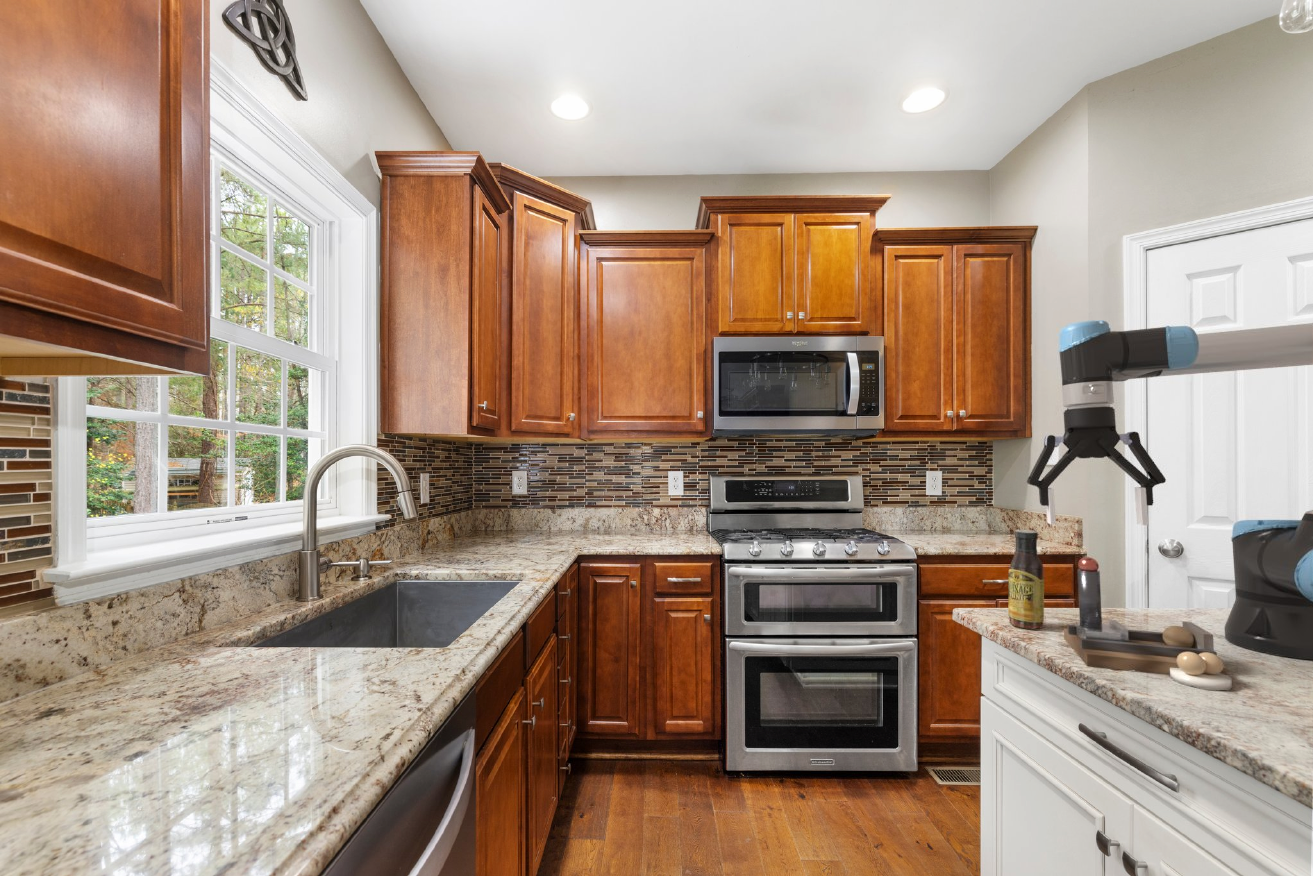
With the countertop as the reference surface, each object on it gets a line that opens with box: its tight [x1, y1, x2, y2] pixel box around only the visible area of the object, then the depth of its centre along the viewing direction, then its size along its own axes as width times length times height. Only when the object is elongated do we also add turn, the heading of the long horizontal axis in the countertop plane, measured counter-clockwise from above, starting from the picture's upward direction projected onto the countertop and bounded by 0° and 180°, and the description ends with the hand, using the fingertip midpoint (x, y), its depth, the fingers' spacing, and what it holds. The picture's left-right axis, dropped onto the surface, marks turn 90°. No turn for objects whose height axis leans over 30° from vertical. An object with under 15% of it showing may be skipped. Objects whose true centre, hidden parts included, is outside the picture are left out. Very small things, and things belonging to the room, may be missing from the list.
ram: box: [1075, 556, 1129, 642], centre depth 104 cm, size 6×6×15 cm
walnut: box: [1162, 625, 1194, 648], centre depth 99 cm, size 4×4×4 cm
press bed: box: [1063, 620, 1228, 676], centre depth 102 cm, size 18×16×6 cm
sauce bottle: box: [1007, 529, 1045, 630], centre depth 121 cm, size 7×6×20 cm
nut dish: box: [1169, 652, 1233, 692], centre depth 90 cm, size 7×7×5 cm
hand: (1095, 524), depth 105 cm, fingers open, 13 cm apart
